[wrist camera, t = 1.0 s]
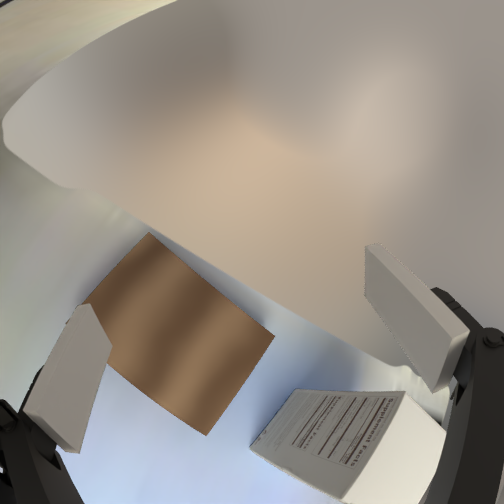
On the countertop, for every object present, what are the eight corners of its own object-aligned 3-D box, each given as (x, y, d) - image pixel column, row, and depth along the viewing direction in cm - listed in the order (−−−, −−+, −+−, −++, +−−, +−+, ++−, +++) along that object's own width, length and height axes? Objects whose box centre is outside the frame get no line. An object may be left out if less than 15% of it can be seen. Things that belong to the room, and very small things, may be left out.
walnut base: (74, 328, 26) (65, 323, 22) (147, 246, 31) (149, 231, 28) (197, 427, 26) (206, 436, 23) (259, 339, 32) (275, 336, 29)
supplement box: (344, 425, 32) (455, 436, 17) (303, 483, 27) (406, 528, 13) (294, 385, 32) (407, 387, 17) (245, 448, 27) (340, 502, 13)
